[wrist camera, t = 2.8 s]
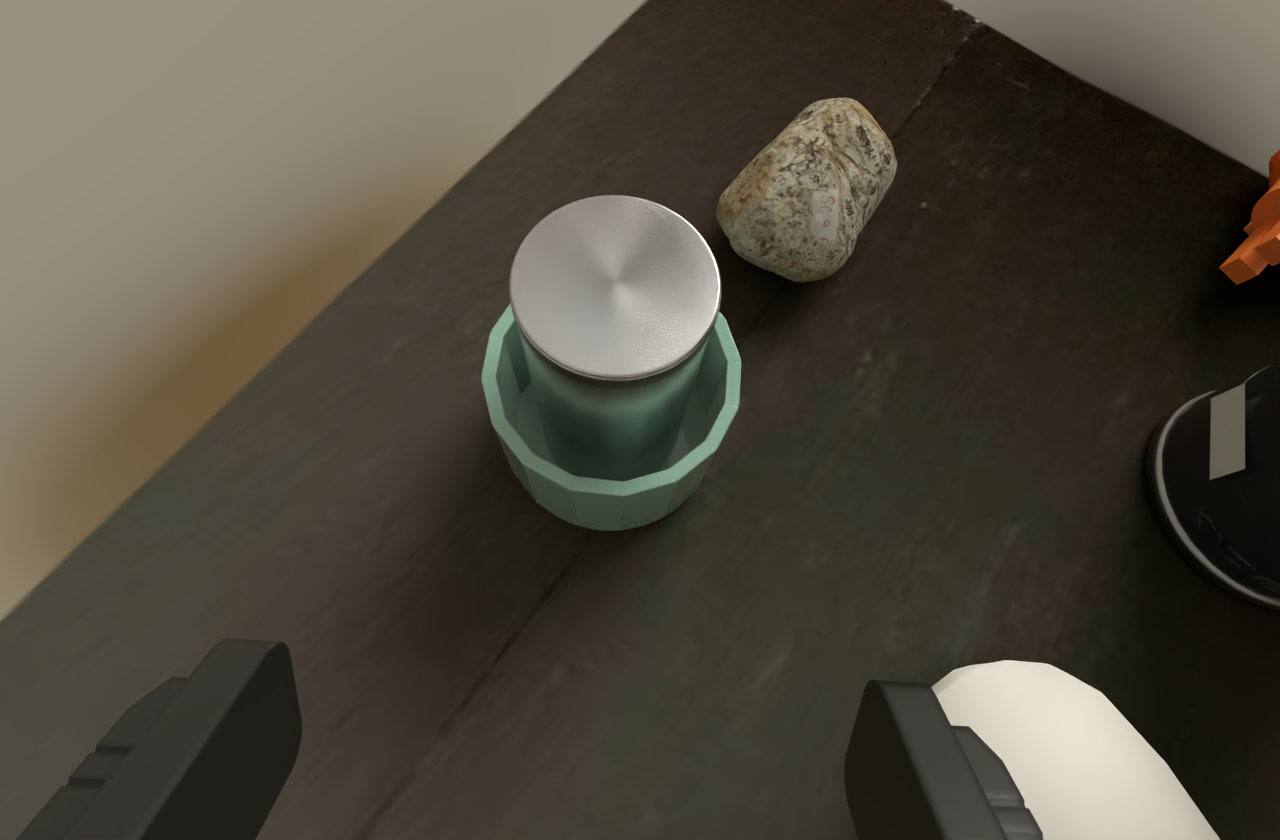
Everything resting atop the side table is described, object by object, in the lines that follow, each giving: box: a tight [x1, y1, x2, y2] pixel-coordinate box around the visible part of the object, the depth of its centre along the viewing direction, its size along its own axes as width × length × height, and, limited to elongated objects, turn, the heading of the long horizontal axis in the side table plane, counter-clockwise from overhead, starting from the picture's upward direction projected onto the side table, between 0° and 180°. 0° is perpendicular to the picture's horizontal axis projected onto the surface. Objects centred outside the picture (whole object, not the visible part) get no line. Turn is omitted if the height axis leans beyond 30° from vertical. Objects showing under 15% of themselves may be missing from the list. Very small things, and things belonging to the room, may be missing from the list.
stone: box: [716, 98, 897, 282], centre depth 31 cm, size 6×9×5 cm
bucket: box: [481, 303, 741, 531], centre depth 26 cm, size 9×9×6 cm
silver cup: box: [509, 195, 722, 481], centre depth 23 cm, size 6×6×11 cm
